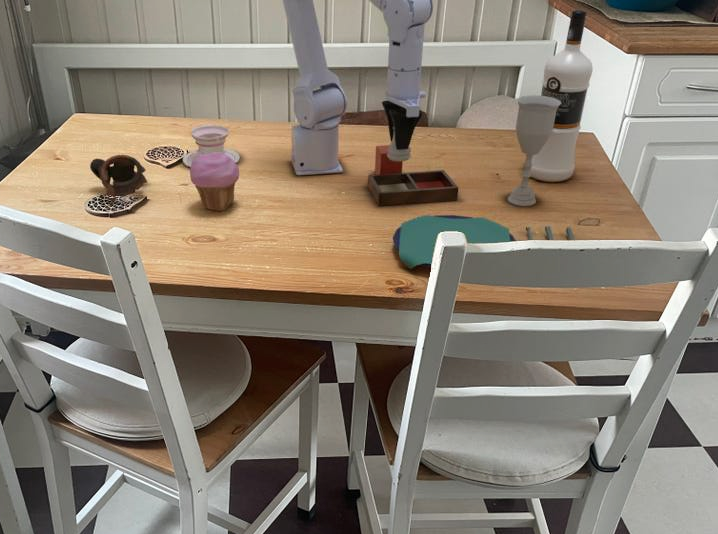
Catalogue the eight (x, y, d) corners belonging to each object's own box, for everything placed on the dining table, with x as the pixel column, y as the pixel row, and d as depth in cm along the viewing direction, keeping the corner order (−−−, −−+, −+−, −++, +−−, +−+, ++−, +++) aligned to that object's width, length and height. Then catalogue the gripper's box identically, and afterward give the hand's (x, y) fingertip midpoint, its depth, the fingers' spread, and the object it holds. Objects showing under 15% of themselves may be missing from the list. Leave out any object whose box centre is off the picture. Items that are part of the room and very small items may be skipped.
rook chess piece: (412, 162, 132) (415, 118, 128) (387, 162, 132) (390, 118, 128) (409, 153, 136) (412, 110, 131) (385, 153, 136) (388, 110, 131)
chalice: (543, 195, 136) (562, 97, 126) (540, 209, 131) (560, 108, 120) (503, 190, 138) (519, 94, 128) (499, 204, 133) (514, 105, 122)
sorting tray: (378, 206, 133) (379, 193, 132) (367, 187, 140) (368, 175, 139) (457, 200, 135) (458, 187, 133) (442, 182, 142) (443, 169, 141)
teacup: (250, 162, 152) (248, 133, 148) (199, 175, 146) (196, 145, 143) (222, 146, 160) (220, 118, 156) (173, 158, 154) (169, 129, 151)
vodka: (582, 177, 143) (619, 11, 125) (547, 187, 139) (580, 17, 122) (548, 162, 150) (578, 3, 132) (514, 171, 146) (540, 8, 128)
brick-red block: (379, 180, 143) (381, 153, 140) (374, 172, 146) (375, 145, 143) (401, 179, 143) (403, 152, 140) (395, 171, 147) (397, 144, 144)
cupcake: (228, 219, 129) (224, 165, 123) (185, 213, 132) (178, 159, 126) (248, 200, 136) (245, 148, 130) (207, 194, 138) (202, 142, 133)
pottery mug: (159, 186, 143) (154, 158, 136) (136, 222, 139) (130, 196, 132) (104, 165, 144) (96, 137, 137) (80, 201, 141) (71, 173, 133)
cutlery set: (394, 222, 127) (395, 210, 126) (571, 231, 124) (573, 218, 122) (389, 277, 112) (390, 263, 110) (591, 289, 108) (595, 275, 106)
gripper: (439, 77, 119) (432, 157, 127) (415, 56, 131) (410, 131, 139) (397, 79, 119) (393, 160, 126) (377, 58, 130) (374, 133, 138)
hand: (399, 145), depth 133 cm, fingers closed on rook chess piece, 3 cm apart
